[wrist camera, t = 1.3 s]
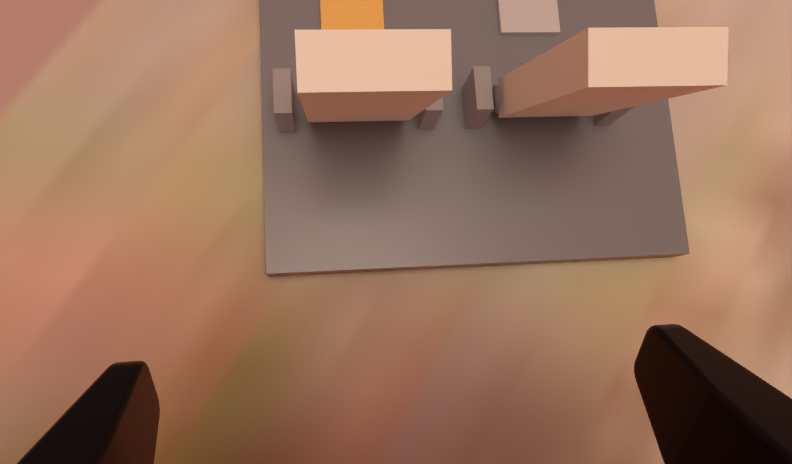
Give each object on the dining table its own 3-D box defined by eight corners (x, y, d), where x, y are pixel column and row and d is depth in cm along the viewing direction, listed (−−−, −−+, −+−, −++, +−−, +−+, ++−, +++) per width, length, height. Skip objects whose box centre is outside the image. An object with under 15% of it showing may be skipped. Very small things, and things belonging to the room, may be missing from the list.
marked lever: (408, 122, 22) (456, 90, 14) (306, 124, 22) (293, 92, 14) (407, 83, 22) (455, 29, 14) (304, 85, 22) (289, 29, 13)
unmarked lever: (586, 117, 23) (730, 85, 15) (490, 119, 23) (584, 86, 14) (586, 80, 23) (731, 27, 15) (490, 82, 22) (584, 27, 14)
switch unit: (674, 256, 24) (722, 245, 21) (269, 276, 22) (259, 267, 19) (637, -18, 26) (676, -64, 23) (262, -21, 24) (252, -70, 21)
